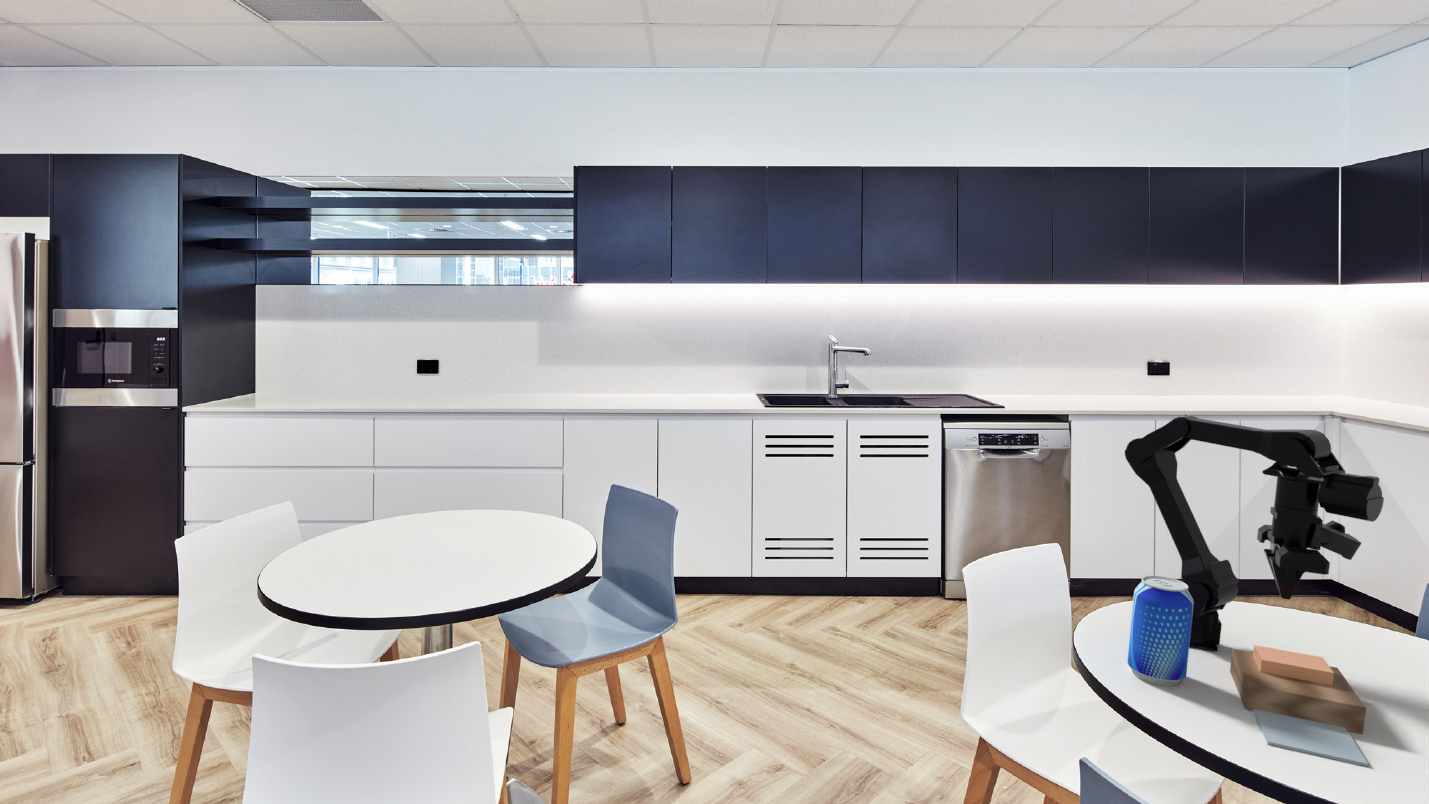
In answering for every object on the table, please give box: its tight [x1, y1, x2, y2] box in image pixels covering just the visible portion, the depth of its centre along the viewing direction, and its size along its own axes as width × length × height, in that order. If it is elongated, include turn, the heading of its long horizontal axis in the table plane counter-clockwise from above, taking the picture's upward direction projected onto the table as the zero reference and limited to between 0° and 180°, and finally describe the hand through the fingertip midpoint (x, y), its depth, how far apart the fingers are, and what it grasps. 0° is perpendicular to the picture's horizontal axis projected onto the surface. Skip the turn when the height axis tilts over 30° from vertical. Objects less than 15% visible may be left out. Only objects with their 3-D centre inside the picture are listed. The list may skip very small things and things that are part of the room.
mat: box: [1253, 709, 1369, 767], centre depth 107 cm, size 11×10×1 cm
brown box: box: [1229, 648, 1367, 735], centre depth 118 cm, size 14×14×4 cm
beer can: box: [1127, 575, 1194, 687], centre depth 124 cm, size 8×8×16 cm
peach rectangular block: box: [1252, 644, 1334, 685], centre depth 119 cm, size 9×6×2 cm, turn 64°
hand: (1285, 598), depth 126 cm, fingers closed
